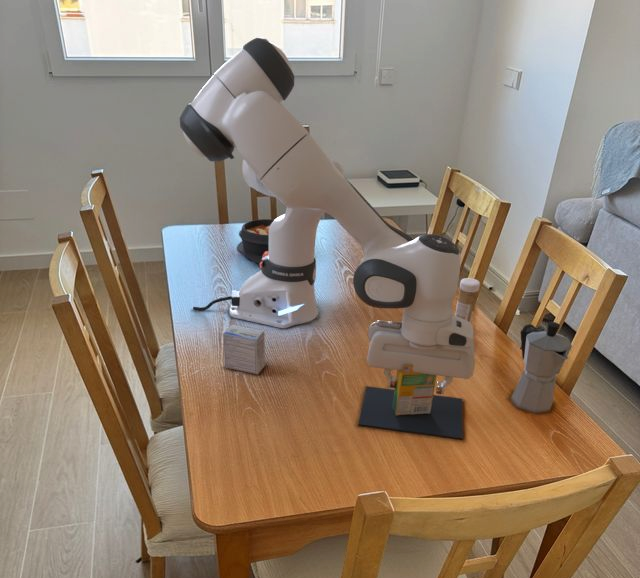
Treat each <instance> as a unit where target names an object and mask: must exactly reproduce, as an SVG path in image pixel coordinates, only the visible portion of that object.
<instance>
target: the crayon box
mask: <svg viewBox="0 0 640 578" xmlns="http://www.w3.org/2000/svg"><path fill="white" fill-rule="evenodd" d="M413 366H414V365H413V364H412V365H403V369H402V371H400V370H396V376H395V377H396V383H395V388H394V390H395V391H394V398H393V405H392V409H393V411H394V413H395V415H396V416H399V415H408V414H425V413H427V414H429V413H430V411H431V405H432V400H433V395H435V394H434V393H435V387H436V381H437V377H438V375H432V374H424V373H416V372H414V371H413V370H412V368H413Z"/></svg>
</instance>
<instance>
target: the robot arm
mask: <svg viewBox="0 0 640 578" xmlns="http://www.w3.org/2000/svg"><path fill="white" fill-rule="evenodd" d="M293 72H294V71H293V69H292V66H291V62H290V61H289V58H288V57H287V55H286V54H285V53H284V51H283V50H282V49H281V48H280V47H279V46H278V45H276V44H275V43H273V42H271V41H270V40H269V39H267V38H265V37H254V38H253V39H251V40H249V41H247V42H246V43H245V44H243V45H242V49H241V50H240V51H238V52H237V53H235V54H234V55H233V56H232V57H231V58H229V59H228V60H227V61H226V62H225V63H224V64H222V65H221V66H220V68H218V69H217V70H216V71H215V72H214V73H213V74H214V75H212V76H211V78H210V79H209V80H208V81H207V82H206V83H205V85H204V86H203V87H202V89H200V91H199V92H198V93H197V95H196V96H195V97H194V98H193V100H192V102H191V103H187V105H186V106H185V108H184V110H183V111H182V112H181V115H180V116H179V127H180V129H181V130H182V135H183V137H184V139H185V140H186V142H187V144H188V145H189V148H191V149H192V150H193V152H195V153H196V154H197V155H199V156H201V157H202V158H204V159H207V160H208V161H209V162H214V163H215V162H216V163H217V162H218V163H219V162H223V161H226V160H228V159H230V160H233V159H235V156H234V155H233V153H234V150H237V151H238V153H239V154H240V156H241V157H242V158H243V159H242V165H241V169H242V176H243V180H244V182H245V184H246V185H247V186H249V187H250V188H251V189H253V190H255V191H257V192H258V193H261V194H263V195H265V196H269V197H272V198H275V199H277V200H278V201H279V202H280V203H282V204H283V205H284V206H285V207H286V209H285V213H284V214H282V215H280V216H278V217H276V218H275V219H273V220H274V221H273V222H272V224H271V225H270V227H269V251H266V252H265V253H264V254H263V256H262V259H261V263H259V271H258V272H256V273H254V274H253V275H251V276H250V277H248V278H247V279H246V280H245V281H244V282H243V283H242V284H241V286H240V289H239V290H235V289H232V290H231V295H229V296H224V297H221V298H220V297H219V298H217V299H213V300H212V301H210V302H209V303H208V304H207V305H205V306H202V307H199V306H192V310H193V311H198V312H199V311H202V312H203V311H207V310H208V309H210V308H211V307H212V306H213V305H214V304H217V303H220V302H226V301H229V300H230V302H231V303H230V305H229V309H228V311H229V315H230V317H231V318H234V319H238V320H242V321H243V320H244V321H248V322H251V323H256V324H261V325H265V326H269V327H275V328H279V329H287V328H290V327H293V326H295V325H301V324H306V323H309V322H311V321H313V320H315V319H316V318H318V316H319V313H320V312H319V308H318V304H317V298H316V289H315V283H316V279H317V277H316V276H317V259H316V257H315V250H316V240H317V239H316V238H317V230H318V226H319V223H320V221H321V219H322V217H323V215H324V214H325V213H326V214H327V215H329V216H330V217H332V218H333V219H335V221H336V222H337V223H338V224H339V225H340V226H341V227H342V228H343V229H344V230H345V231H346V232H347V233H348V234H349V236H350V237H352V239H353V240H354V241H355V242H356V243H357V244H358V245H359V246H360V247H361V249H362V252H363V255H364V256H363V258H362V259H361V260H360V262H359V264H358V265H357V267H356V269H355V271H354V274H353V279H352V284H353V289H354V291H355V294H356V296H357V297H358V298H359V299H360V301H362V302H363V303H364V304H366V305H367V306H369V307H372V308H377V309H403V310H402V317H401V321H400V322H399V321H385V320H382V319H381V320H380V319H379V320H376V321H374V322H372V323H371V324H369V326H368V328H367V338H368V340H369V341H370V342H369V345H368V350H367V355H366V363H367V365H368V366H369V367H370V368H378V369H383V374H384V376H385V378H386V381H387V388H388V389H395V383H396V376H394V375H393V374H392V371H393V370H394V371H397V370H400V371H402V369H403V365H412V364H413V365H414V366H413V368H412V370H413V371H414V372H416V373H424V374H432V375H437V376H440V377H444V379H443V380H442V381H441V382H440V381H437V383H436V389H435V392H436V393H435V395H436V394H438V395H445V390H446V388H447V387H448V386H449V385H450V384H452V382H453V380H454V378H456V379H462V380H463V379H464V380H468V379H470V378H471V377H472V376H473V375H474V372H475V363H476V362H475V361H476V353H475V351H476V350H475V341H474V338H475V331H474V326H473V323H470V322H469V321H466V320H464V319H462V318H459V317H457V316H455V314H454V309H453V302H454V299H455V297H456V295H457V293H458V288H459V282H460V275H461V274H460V273H461V253H460V250H459V248H458V246H457V245H456V243H454V242H453V241H452V240H450V239H449V238H447V237H445V236H443V235H439V234H436V233H435V234H434V233H423V234H420V235H419V236H417V237H416V238H414V239H413V238H412V237H411V236H410V235H409V234H407V233H406V232H404V231H402V230H400V229H398V228H396V227H395V226H393V225H391V224H390V223H388V222H387V221H386V220H385V219H384V217H382V216H381V215H380V213H379V212H378V211H377V210H376V209H375V208H374V207H373V206H372V205H371V203H369V201H367V199H366V198H365V197H364V196H363V195H362V194H361V192H360V191H359V190H358V189H357V188H356V187H355V186H354V185H353V184H352V183H351V182H350V181H349V180H348V179H347V178H346V173H345V170H344V167H343V166H342V165H341V164H340V163H339V162H337V161H336V160H334V159H332V158H330V157H328V155H327V154H326V152H325V151H324V150H323V149H322V148H321V146H320V145H319V144H318V143H317V141H316V139H314V137H313V136H312V134H311V133H309V131H308V130H307V129H306V127H304V125H302V123H301V122H300V120H298V119H297V117H296V116H294V115H293V113H291V112H290V111H289V110H288V109H287V107H286V106H284V105H283V104H282V101H286V100H287V98H288V97H289V95H290V94H291V92H292V91H293V89H294V87H295V73H293Z"/></svg>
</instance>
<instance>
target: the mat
mask: <svg viewBox="0 0 640 578" xmlns="http://www.w3.org/2000/svg"><path fill="white" fill-rule="evenodd" d="M394 391H395V389H392V388H382V387H375V386H366V388H365V392H364V396H363V401H362V405H361V410H360V415H359V420H358V425H357V426H358V427H365V428H372V429H379V430H380V429H381V430H385V431H386V430H387V431H393V432H402V433H407V434H415V435H422V436H431V437H438V438H446V439H452V440H460V441H463V438H464V436H463V435H464V434H463V433H464V432H463V431H464V430H463V398H460V397H452V396H444V395H436V394H433V400H432V405H431V411H430V413H429V414H427V413H425V414H408V415H399V416H396V415H395V413H394V411H393V409H392V405H393V398H394Z"/></svg>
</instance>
